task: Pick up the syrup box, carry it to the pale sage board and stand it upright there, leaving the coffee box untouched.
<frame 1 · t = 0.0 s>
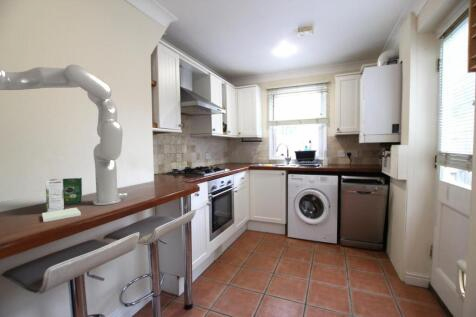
syrup box: (55, 211, 101), on the worktop
coffee box: (73, 203, 115), on the worktop
sage board: (61, 215, 94), on the worktop
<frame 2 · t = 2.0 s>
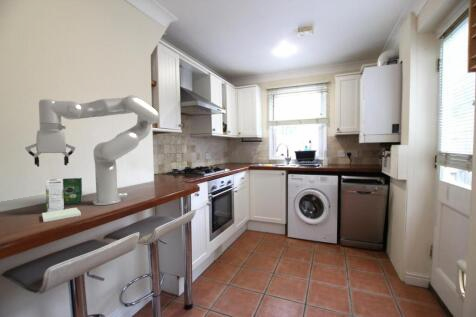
hand: (52, 165, 100), 21 cm above the worktop, tool pointing down, fingers open, 9 cm apart
nothing on the worktop moved.
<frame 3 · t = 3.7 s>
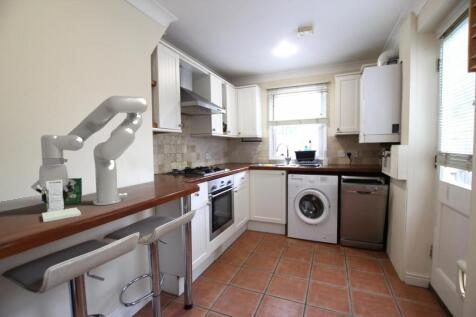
hand: (55, 200, 101), 5 cm above the worktop, tool pointing down, fingers closed on syrup box, 6 cm apart
syrup box: (56, 211, 101), on the worktop, touching gripper
everything else where it was.
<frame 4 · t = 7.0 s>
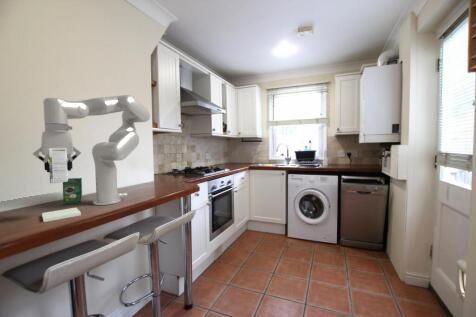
hand: (59, 170, 93), 19 cm above the worktop, tool pointing down, fingers closed on syrup box, 6 cm apart
syrup box: (59, 182, 93), point 14 cm above the worktop, touching gripper
everything else where it was.
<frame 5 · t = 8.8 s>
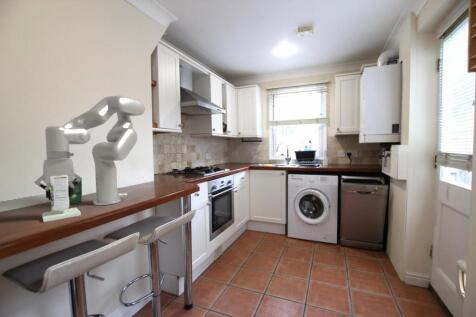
hand: (60, 197, 93), 8 cm above the worktop, tool pointing down, fingers closed on syrup box, 6 cm apart
syrup box: (60, 209, 94), point 3 cm above the worktop, touching gripper
everything else where it was.
when the fingers open (6 cm above the worktop, at t = 10.0 s): syrup box stays where it is, resting on sage board.
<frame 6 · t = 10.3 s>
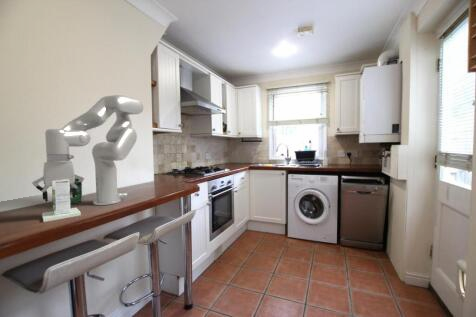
hand: (60, 199, 93), 7 cm above the worktop, tool pointing down, fingers open, 8 cm apart
syrup box: (62, 213, 94), point 1 cm above the worktop, touching sage board
everything else where it was.
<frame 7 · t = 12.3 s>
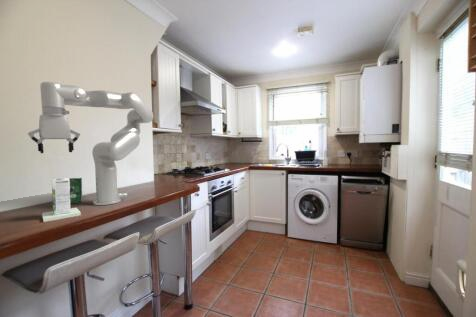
hand: (56, 152, 95), 27 cm above the worktop, tool pointing down, fingers open, 9 cm apart
nothing on the worktop moved.
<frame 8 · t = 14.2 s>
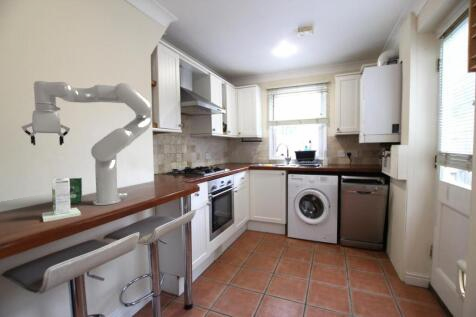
hand: (48, 145, 104), 30 cm above the worktop, tool pointing down, fingers open, 9 cm apart
nothing on the worktop moved.
at the end: syrup box inside the target area on the sage board (0.4 cm from its centre), point 1.0 cm above the sage board's base; syrup box tilted 0°; coffee box moved 0.2 cm from its start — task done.
